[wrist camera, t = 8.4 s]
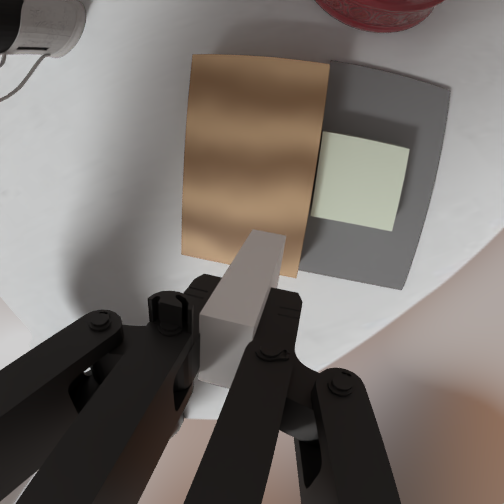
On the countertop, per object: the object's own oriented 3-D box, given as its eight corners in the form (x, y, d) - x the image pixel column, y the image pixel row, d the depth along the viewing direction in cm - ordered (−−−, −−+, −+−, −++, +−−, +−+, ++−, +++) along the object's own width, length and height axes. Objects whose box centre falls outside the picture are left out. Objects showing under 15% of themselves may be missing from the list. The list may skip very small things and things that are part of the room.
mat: (401, 288, 33) (401, 290, 33) (298, 268, 35) (298, 270, 35) (448, 90, 24) (450, 90, 23) (330, 60, 26) (330, 60, 25)
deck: (300, 260, 35) (296, 278, 31) (195, 239, 37) (181, 254, 33) (329, 70, 26) (329, 64, 23) (208, 60, 28) (192, 54, 24)
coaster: (388, 223, 30) (391, 231, 29) (311, 209, 32) (310, 215, 30) (404, 146, 27) (409, 149, 25) (323, 130, 28) (322, 131, 26)
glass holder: (91, -7, 26) (1, -27, 13) (76, 93, 32) (-20, 105, 19) (47, 7, 27) (-36, 0, 14) (36, 98, 34) (-51, 113, 20)
